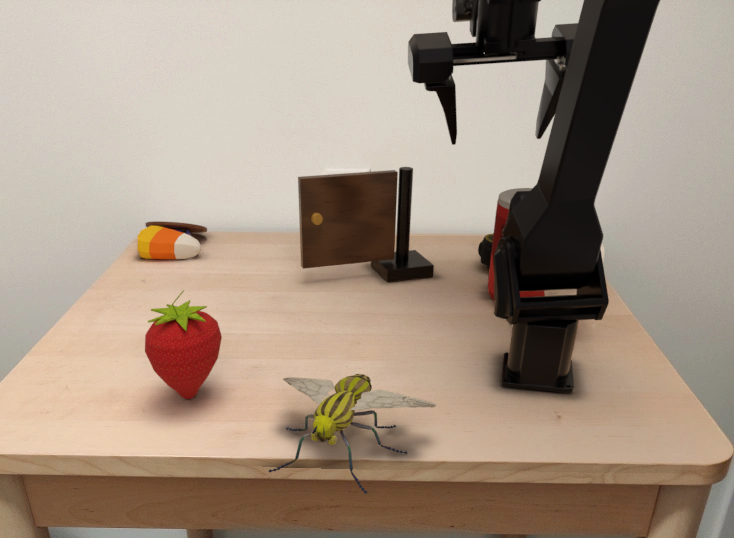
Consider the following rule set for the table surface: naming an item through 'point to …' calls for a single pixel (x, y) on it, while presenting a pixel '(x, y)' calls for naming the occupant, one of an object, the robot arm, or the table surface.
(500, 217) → the canned food
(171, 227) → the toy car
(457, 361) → the table surface
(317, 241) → the door
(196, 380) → the strawberry
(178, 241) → the candy corn
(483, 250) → the tape measure
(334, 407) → the insect
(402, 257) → the door post
